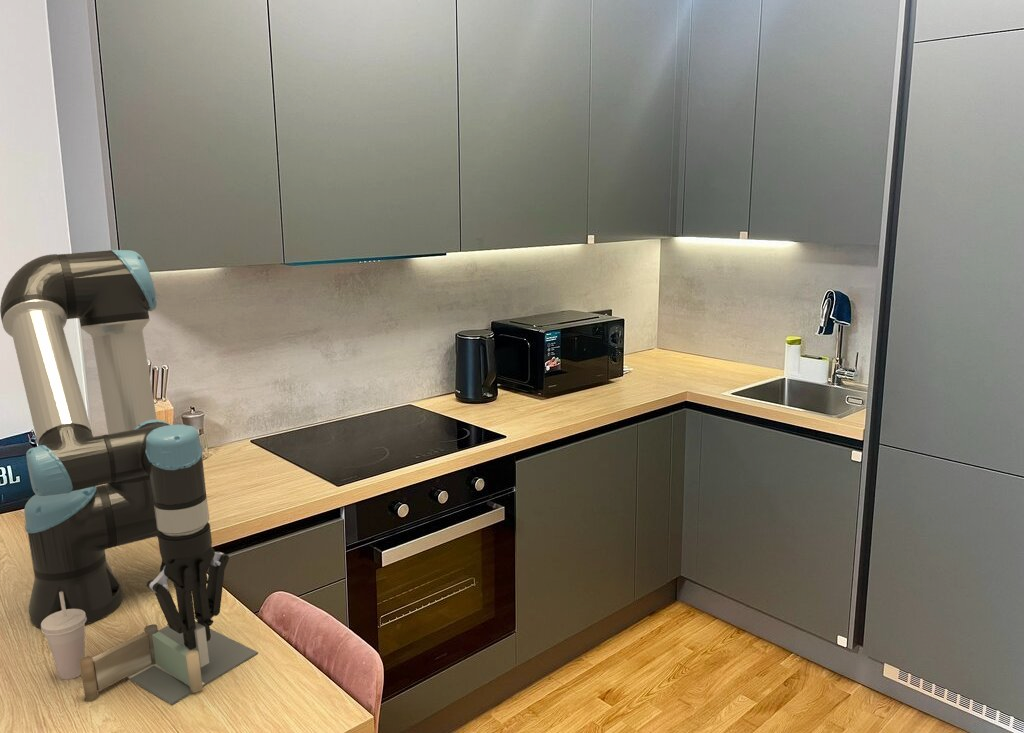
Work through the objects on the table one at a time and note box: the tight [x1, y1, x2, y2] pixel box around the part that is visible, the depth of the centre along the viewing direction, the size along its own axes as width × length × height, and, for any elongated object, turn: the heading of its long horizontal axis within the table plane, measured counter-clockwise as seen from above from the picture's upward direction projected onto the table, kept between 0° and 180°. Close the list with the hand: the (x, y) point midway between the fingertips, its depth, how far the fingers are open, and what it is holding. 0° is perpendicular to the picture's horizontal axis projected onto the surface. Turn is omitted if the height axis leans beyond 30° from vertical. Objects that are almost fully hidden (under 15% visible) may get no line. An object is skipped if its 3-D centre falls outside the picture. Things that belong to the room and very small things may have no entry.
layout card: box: [124, 624, 259, 706], centre depth 135 cm, size 20×16×1 cm
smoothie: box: [40, 592, 87, 681], centre depth 130 cm, size 6×6×14 cm
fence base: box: [79, 623, 159, 702], centre depth 129 cm, size 2×13×7 cm, turn 145°
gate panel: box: [152, 632, 204, 693], centre depth 129 cm, size 12×2×6 cm, turn 52°
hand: (200, 662), depth 131 cm, fingers closed
